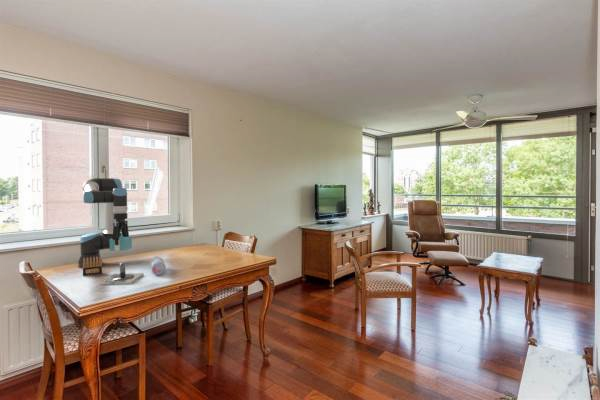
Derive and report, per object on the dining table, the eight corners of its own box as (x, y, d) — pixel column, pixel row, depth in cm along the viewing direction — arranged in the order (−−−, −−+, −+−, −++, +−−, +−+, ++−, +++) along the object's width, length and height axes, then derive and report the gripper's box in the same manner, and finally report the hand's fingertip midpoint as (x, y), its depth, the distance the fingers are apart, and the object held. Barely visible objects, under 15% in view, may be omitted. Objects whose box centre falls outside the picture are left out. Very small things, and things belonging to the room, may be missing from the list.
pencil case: (150, 269, 219) (150, 256, 218) (163, 267, 223) (163, 254, 222) (151, 277, 200) (151, 262, 200) (166, 275, 204) (166, 261, 204)
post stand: (114, 276, 201) (114, 260, 201) (143, 275, 204) (143, 259, 203) (99, 284, 184) (99, 267, 183) (131, 283, 186) (131, 266, 185)
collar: (117, 247, 196) (116, 236, 196) (131, 247, 197) (131, 236, 197) (109, 250, 187) (109, 239, 187) (125, 250, 188) (125, 239, 188)
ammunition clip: (102, 273, 208) (101, 255, 208) (102, 273, 207) (101, 256, 206) (82, 275, 202) (82, 257, 202) (82, 276, 201) (82, 257, 200)
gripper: (118, 214, 181) (119, 252, 182) (134, 211, 203) (134, 245, 204) (104, 214, 180) (105, 252, 181) (122, 211, 202) (122, 245, 203)
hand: (121, 248), depth 192 cm, fingers closed on collar, 9 cm apart
